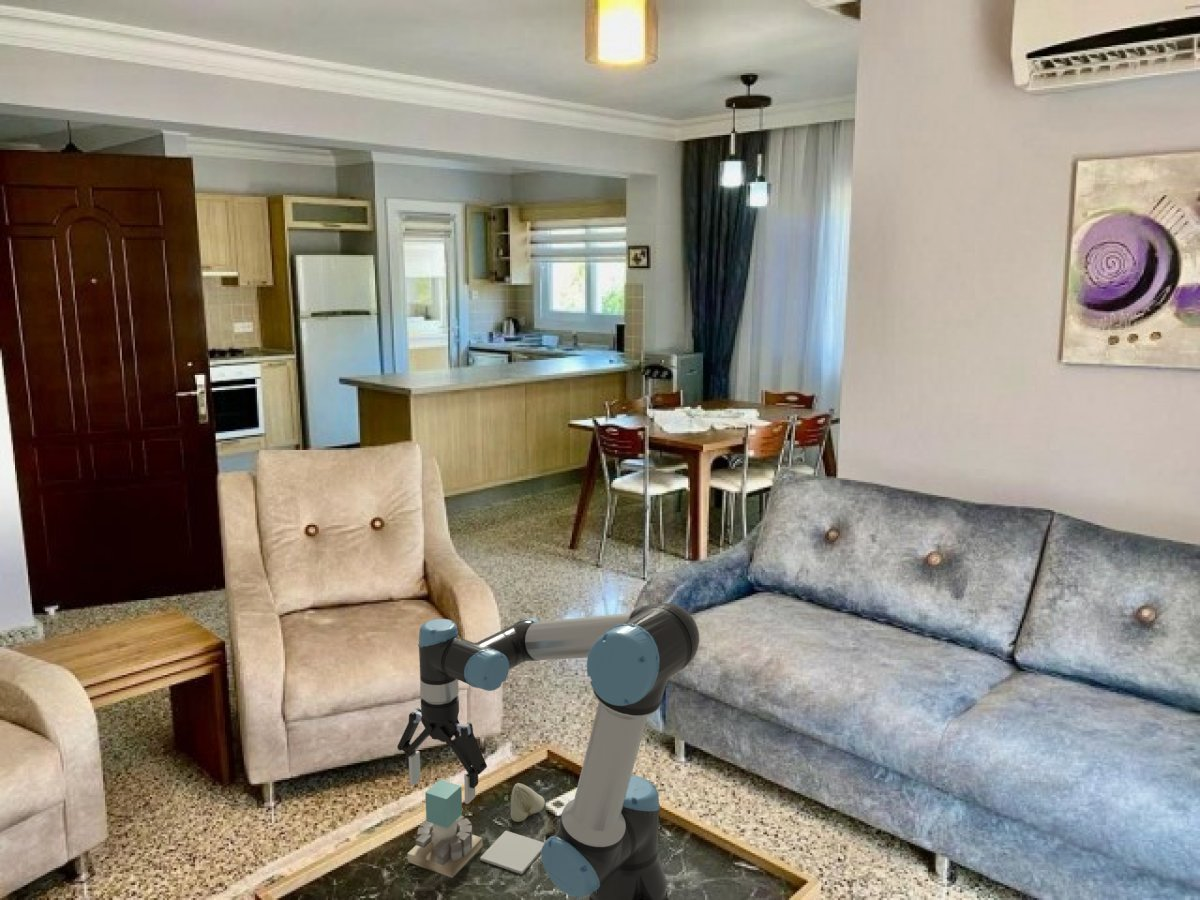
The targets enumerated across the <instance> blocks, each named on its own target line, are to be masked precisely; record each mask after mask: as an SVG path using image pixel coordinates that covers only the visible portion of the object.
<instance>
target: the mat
mask: <svg viewBox="0 0 1200 900" xmlns="http://www.w3.org/2000/svg"><path fill="white" fill-rule="evenodd" d="M544 843H545V842H543V841H539V840H538V839H537V840H536V839H534V838H530V837H527V836H524V835H521V834H518V833H515V832H511V831H510V830H509V831H508V830H505V831H504V832H503V833H502V834H501V835H500V836H499V837H498V838H497V839H496V840H495V841H494V842H493V843H492V844H491V845H490V846H489V847H488V849H486V851H485V852H484V853H483V854H482V855H481V856H480V857H479V859H480V860H479V861H482V862H485V863H487V864H491V865H493V866H497V867H499V868H503V869H505V870H508V871H511V872H514V873H517V874H520V875H523V874H524V873H525V872H526V871H527V869H528V868H529V867H530V866H531V864H532V863H533V862H534V861H535V860H536V859H537V857H539V855H541V851H542V847H543V845H544Z"/></svg>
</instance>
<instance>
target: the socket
mask: <svg viewBox="0 0 1200 900" xmlns="http://www.w3.org/2000/svg"><path fill="white" fill-rule="evenodd" d="M456 826H457V835H456V836H454V837H451V838H449V839H446V840H443V839H442V840H441V841H440V842H438V843H437V844H436V845H435V846H434V844H433V843H431V841H432V836H431V835H430V833H431V832H433V823H431V822H428V821H426V819H425V820H424V821H423V822H422V823H420V825H419V827H418V829H417V833H416V834H417V835H416V836H417V837H416V839H415V845H414V847H413V848H411V849H410V850H409V851H408V852H407V853H406V854H407V862H408V863H409V864H412V865H416V866H418V867H421V868H422V869H423V868H424V869H426V870H429V871H432V872H435V873H438V874H441V875H442V876H443V875H444V876H446V877H449V878H451V879H452V878H453V879H454V877H455V876H456V875H457V873H459V872H460V871H461V870H462V868H464V866H466V865H467V864H468V862H469V861H470V860H471V859H472V858H473V857H474V856H475V855H476V854H477V853H478V852H479V851H480V850H481V848H483V837H481V836H478V835H476V834H473V825H472V822H471V821H470V820H469V819H468V818H467V817H466V818H465V816H463V815H461V816H460V817H459V818H458V819H456ZM434 848H435V849H434Z"/></svg>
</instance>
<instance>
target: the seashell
mask: <svg viewBox="0 0 1200 900" xmlns="http://www.w3.org/2000/svg"><path fill="white" fill-rule="evenodd" d="M545 801H546V800H545V798H544V796H542V795H540V794H538V792H536V791H535V789H532V788H531V787H530V786H527V785H526V784H524V783H519V782H517V783H515V784H514V786H513V788H512V792H511V795H510V802H509V803H510V818H511V820H512V821H513V822H516V823H517V822H518V823H519V822H523V821H524V820H526V819H527V818H528V817H529V816H532V815H533V814H537V813H539V812H541V811H542V809H544V807H545V805H546V804H545V803H546V802H545Z"/></svg>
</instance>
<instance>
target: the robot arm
mask: <svg viewBox="0 0 1200 900" xmlns="http://www.w3.org/2000/svg"><path fill="white" fill-rule="evenodd" d="M699 645H700V633H699V627H698V625H697V622H696V620H695V619H694V617H693V616H692V615H691V613H690V612H688V611H687V610H685V608H683V607H681V606H679V605H676V604H675V603H674V604H673V603H669V602H663V603H656V604H649V605H647V604H646V605H638V606H636V607H634V608H633V609H632V610H631V612H627V613H624V612H623V613H617V614H616V613H615V614H606V615H597V616H596V615H595V616H586V617H585V616H584V617H575V618H565V619H557V620H556V619H555V620H546V621H542V620H539V619H537V618H536V617H529V618H526V619H522V620H519V621H516V623H513V624H512V625H509V626H508V627H506V628H504V629H502V630H500V631H498V632H496V633H493V634H491V635H489V636H487V637H485V638H484V639H481V640H480V641H477V642H473V641H470V640H468V639H464V638H462V637H459V631H458V625H457V624H456V623H455V621H453V620H452V619H448V618H447V619H446V618H436V619H431V620H428V621H425V622H424V623H422V625H420V627H419V632H418V645H417V647H418V657H419V676H420V677H419V691H420V697H421V698H420V708H419V707H417V708H415V709H414V710H413V711H412V712H410V713H409V714H408V723H407V725H406V727H405V730H404V731H403V733H402V735H401V737H400V740H399V742H398V744H397V746H396V747H397V750H398V751H400V752H401V751H403V752H404V755H405V762H406V764H405V765H406V768H407V769H408V773H409V774H408V777H409V786H411V787H414V786H415V785H416V784H417V783H418V782H419V781H420V780H421V751H419V750H417V749H418V748H419V746H420V745H422V744H423V743H424V742H425V740H426V739H427V738H428V737H430V738H431V739H432V740H438V741H440V742H442V743H445V744H446V745H447V746H448V748H451V749H452V751H453V753H454V754H455V755H456V757H457V758H458V760H459V762H460V763H461V765H462V767H464V769H465V771H466V772H465V773H464V774H463V775H464V776H463V778H464V779H463V780H464V781H463V782H464V783H463V784H464V804H466V805H468V804H470V803H471V802H472V801H473V800H474V799H475V798H476V787H477V786H478V785H479V775H481V773H483V772H484V771H485V770H486V769H487V768H488V765H487V762H486V760H485V758H484V755H483V753H482V751H481V748H480V746H479V744H478V741H477V738H476V737H475V734H474V727H473V724H472V722H467V723H460V721H459V712H460V695H459V691H460V690H459V688H460V687H459V681H460V682H463V683H465V684H467V685H469V686H471V687H473V688H476V689H481V690H484V691H487V692H492V691H496V690H498V689H499V688H500V687H501V686H502V684H503V683H504V682H506V680H507V678H508V676H509V671H510V670H511V669H513V668H515V667H517V666H519V665H521V664H522V663H525V662H536V661H537V662H538V661H547V660H549V661H550V660H551V661H552V660H567V659H583V658H584V659H585V658H587V661H586V670H587V671H586V672H587V677H590V679H591V680H590V682H589V683H590V685H591V687H592V691H593V694H594V697H595V699H596V700H597V701H598V703H597V708H596V712H595V715H594V719H593V723H592V727H591V732H590V735H589V740H588V743H587V746H586V747H587V748H586V751H585V755H584V759H583V763H582V767H581V771H580V775H579V779H578V783H577V787H576V790H575V791H576V792H575V795H574V798H573V799H571V800H570V801H569V802H567V803H566V804H565V806H564V807H563V809H562V812H561V817H560V820H559V823H558V828H557V830H556V832H555V833H554V834H553V835H552V836H549V837H548V838H547V840H546V841H545V842H543V843H544V845H543V847H542V851H541V853H540V857H541V862H542V865H543V868H544V870H545V872H546V874H547V876H548V877H549V879H550V881H551V882H552V883H553V884H554V886H556V888H557V889H558V890H560V891H561V892H562V893H563V894H565V895H567V896H569V897H571V898H575V899H583V898H587V897H589V896H590V898H591V900H665V899H666V896H667V878H666V875H665V871H664V869H663V866H662V862H661V859H660V856H659V832H660V831H659V827H660V825H659V824H660V808H661V805H660V798H659V797H660V796H659V791H658V790H657V787H656V786H655V785H654V784H653V783H652V782H651V781H650V780H648V779H645V778H643V777H640V776H638V775H634V774H633V770H634V767H635V763H636V759H637V756H638V753H639V749H640V745H641V741H642V739H643V735H644V731H645V727H646V725H647V724H646V723H647V720H648V717H649V716H651V715H653V714H654V713H657V711H658V710H659V708H660V706H661V704H662V700H663V697H664V696H663V695H664V693H665V689H666V686H667V683H668V681H669V680H670V678H672V677H674V676H675V675H676V674H677V673H678V672H680V671H682V670H683V669H684V668H686V667H688V665H689V664H690V663H691V662H692V661H693V659H694V658H695V656H696V654H697V652H698V649H699ZM420 722H421V724H422V725H423V727H424V729H423V730H422V731H421V733H420V734H419V735H418V736H417V737H416V738H415V739H414V740H413V741H412V739H413V737H414V735H415V732H416V731H417V729H418V727H419V723H420ZM453 737H454V738H453ZM452 738H453V739H452ZM411 741H412V742H411ZM632 774H633V775H632Z"/></svg>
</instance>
